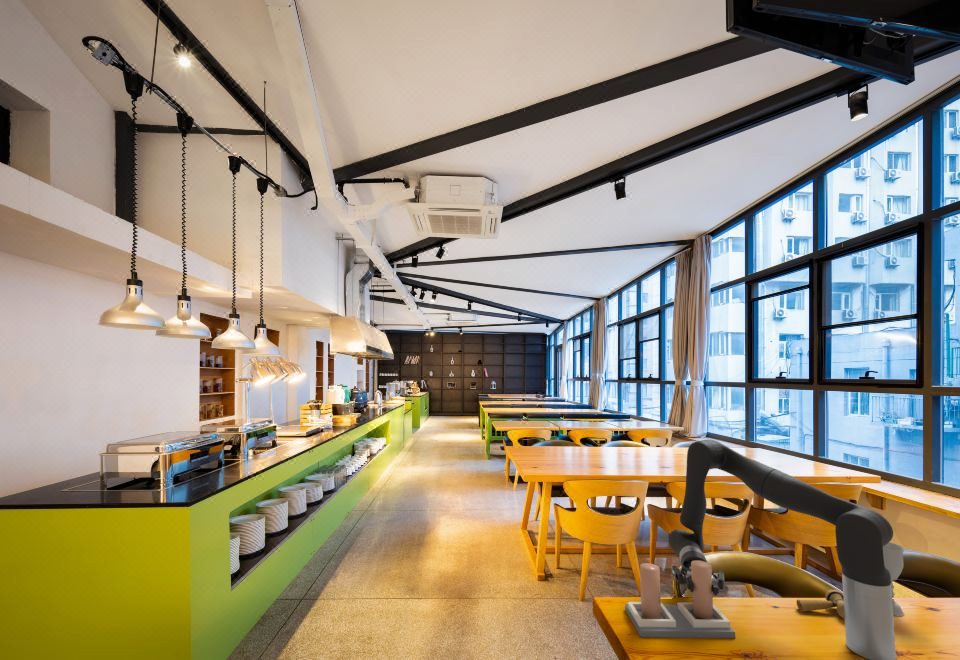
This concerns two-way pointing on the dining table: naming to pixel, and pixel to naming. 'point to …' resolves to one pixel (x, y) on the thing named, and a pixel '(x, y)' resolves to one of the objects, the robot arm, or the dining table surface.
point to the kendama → (824, 603)
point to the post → (702, 589)
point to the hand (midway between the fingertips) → (703, 589)
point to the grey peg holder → (671, 613)
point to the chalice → (894, 569)
